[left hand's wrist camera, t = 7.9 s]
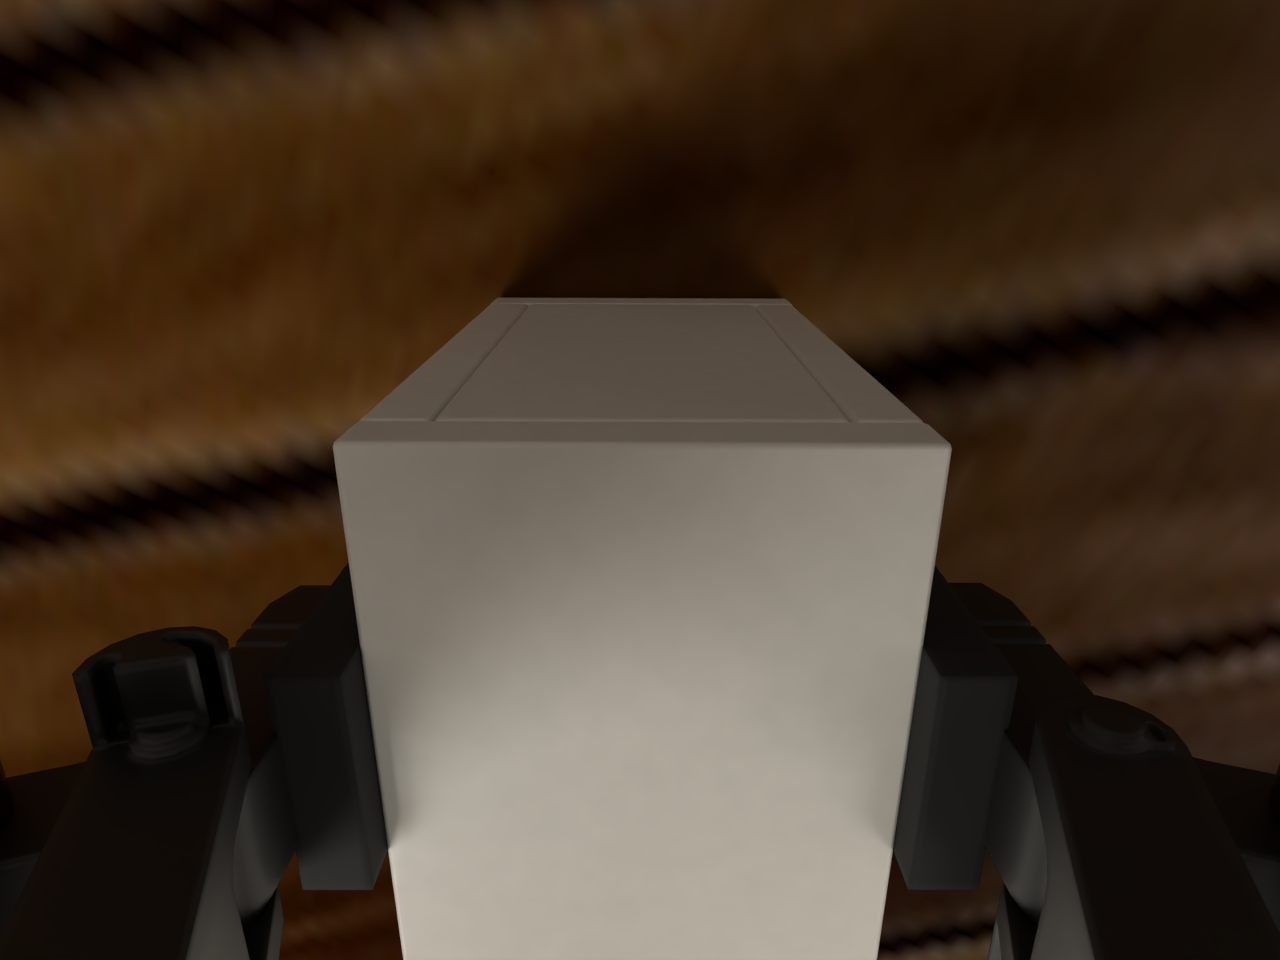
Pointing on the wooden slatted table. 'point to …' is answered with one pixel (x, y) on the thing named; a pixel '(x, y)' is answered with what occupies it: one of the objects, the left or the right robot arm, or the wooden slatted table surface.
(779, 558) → the cabinet
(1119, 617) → the wooden slatted table surface
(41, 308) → the wooden slatted table surface
